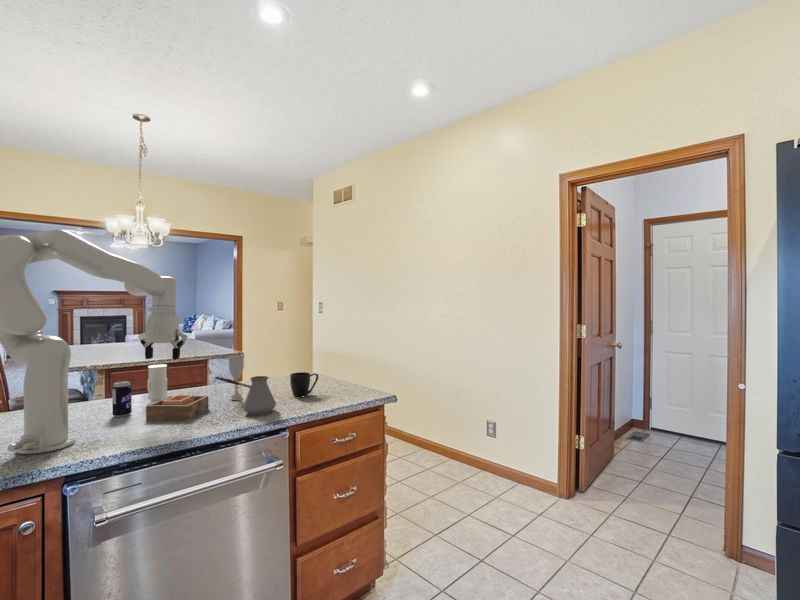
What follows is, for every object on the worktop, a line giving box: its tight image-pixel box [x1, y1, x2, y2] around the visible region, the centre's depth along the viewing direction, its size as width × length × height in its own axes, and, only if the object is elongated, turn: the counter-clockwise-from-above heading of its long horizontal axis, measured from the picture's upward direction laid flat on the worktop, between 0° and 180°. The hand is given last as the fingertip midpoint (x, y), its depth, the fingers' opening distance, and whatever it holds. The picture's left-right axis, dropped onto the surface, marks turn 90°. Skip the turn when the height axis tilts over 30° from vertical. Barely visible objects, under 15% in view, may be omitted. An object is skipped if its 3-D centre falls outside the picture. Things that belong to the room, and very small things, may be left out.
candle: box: [147, 364, 168, 405], centre depth 165 cm, size 7×7×15 cm
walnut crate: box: [145, 395, 209, 421], centre depth 148 cm, size 15×15×5 cm
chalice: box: [227, 354, 246, 401], centre depth 169 cm, size 7×7×18 cm
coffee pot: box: [212, 375, 277, 416], centre depth 146 cm, size 21×12×15 cm, turn 126°
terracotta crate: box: [162, 394, 195, 405], centre depth 148 cm, size 9×6×5 cm
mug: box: [289, 371, 319, 398], centre depth 175 cm, size 8×12×10 cm
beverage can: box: [111, 380, 133, 418], centre depth 147 cm, size 6×6×12 cm
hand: (162, 358), depth 145 cm, fingers open, 9 cm apart
